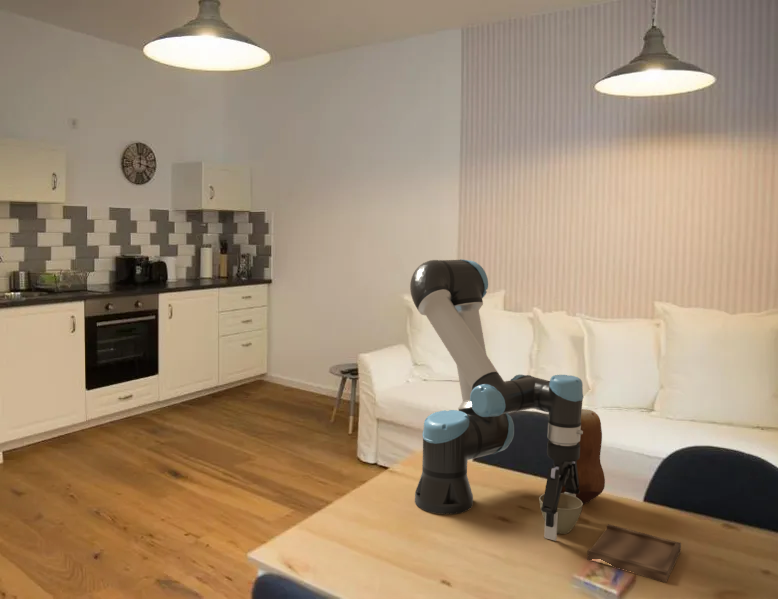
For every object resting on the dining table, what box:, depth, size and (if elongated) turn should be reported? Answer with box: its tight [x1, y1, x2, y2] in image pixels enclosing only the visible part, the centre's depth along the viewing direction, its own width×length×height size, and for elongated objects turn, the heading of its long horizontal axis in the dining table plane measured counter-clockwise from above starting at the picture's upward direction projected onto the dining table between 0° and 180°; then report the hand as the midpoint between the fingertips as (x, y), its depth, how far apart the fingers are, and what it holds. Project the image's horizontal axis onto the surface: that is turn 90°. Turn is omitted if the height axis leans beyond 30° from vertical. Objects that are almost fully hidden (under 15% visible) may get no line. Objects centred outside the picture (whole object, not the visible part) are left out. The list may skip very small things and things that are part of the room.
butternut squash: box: [561, 408, 606, 505], centre depth 170 cm, size 14×13×25 cm
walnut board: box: [586, 523, 682, 584], centre depth 142 cm, size 16×16×2 cm
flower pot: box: [538, 493, 584, 535], centre depth 154 cm, size 10×10×7 cm
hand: (559, 528), depth 155 cm, fingers open, 12 cm apart
